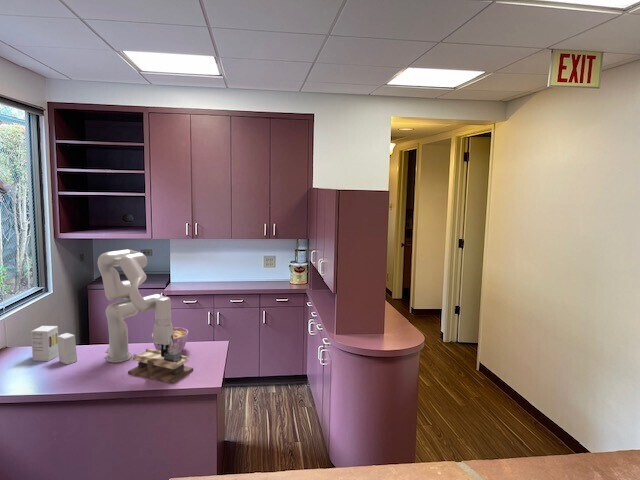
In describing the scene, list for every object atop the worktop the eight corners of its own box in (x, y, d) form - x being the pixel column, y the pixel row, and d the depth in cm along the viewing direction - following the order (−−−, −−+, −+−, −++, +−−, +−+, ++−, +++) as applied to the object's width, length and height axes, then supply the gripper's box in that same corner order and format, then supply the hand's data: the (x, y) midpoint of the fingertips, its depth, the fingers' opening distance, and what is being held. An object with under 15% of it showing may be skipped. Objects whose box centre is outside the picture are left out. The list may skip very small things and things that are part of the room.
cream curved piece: (130, 361, 219) (130, 356, 219) (150, 351, 232) (150, 346, 231) (172, 370, 210) (172, 365, 210) (189, 360, 223) (189, 355, 222)
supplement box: (49, 361, 232) (47, 331, 230) (32, 361, 232) (30, 331, 230) (60, 354, 241) (58, 325, 239) (43, 354, 242) (42, 325, 239)
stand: (128, 373, 219) (127, 356, 218) (150, 361, 234) (150, 345, 233) (172, 383, 209) (172, 365, 208) (193, 370, 224) (192, 353, 223)
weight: (164, 361, 216) (163, 353, 216) (172, 357, 222) (172, 348, 221) (173, 363, 214) (173, 355, 214) (181, 359, 220) (181, 350, 219)
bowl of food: (177, 360, 236) (176, 340, 234) (144, 357, 240) (144, 337, 238) (195, 347, 255) (194, 328, 254) (164, 344, 259) (164, 326, 258)
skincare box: (77, 361, 233) (76, 335, 231) (66, 365, 228) (64, 338, 226) (69, 357, 237) (67, 331, 235) (57, 361, 232) (56, 335, 230)
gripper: (146, 321, 216) (147, 356, 219) (170, 325, 211) (171, 361, 213) (156, 317, 223) (157, 351, 226) (180, 321, 218) (181, 355, 220)
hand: (164, 355), depth 219 cm, fingers closed
